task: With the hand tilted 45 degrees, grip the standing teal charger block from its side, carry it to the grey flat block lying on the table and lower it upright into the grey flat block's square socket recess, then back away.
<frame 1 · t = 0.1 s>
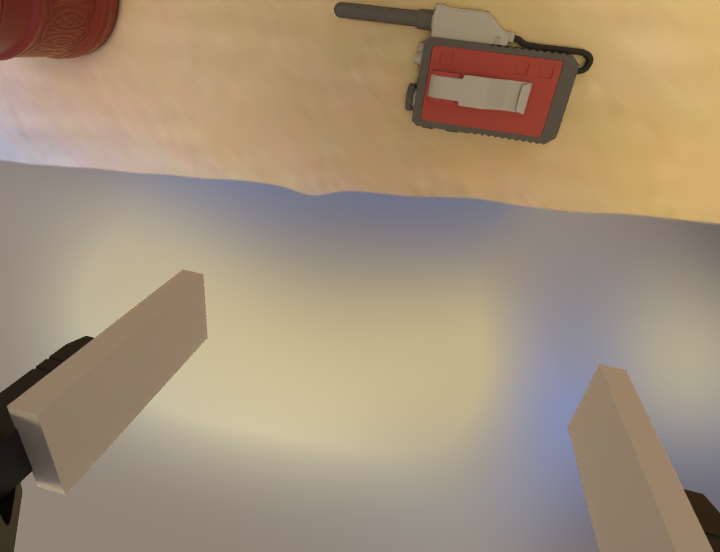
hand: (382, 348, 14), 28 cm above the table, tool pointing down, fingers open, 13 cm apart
walkie-talkie: (452, 70, 36), on the table
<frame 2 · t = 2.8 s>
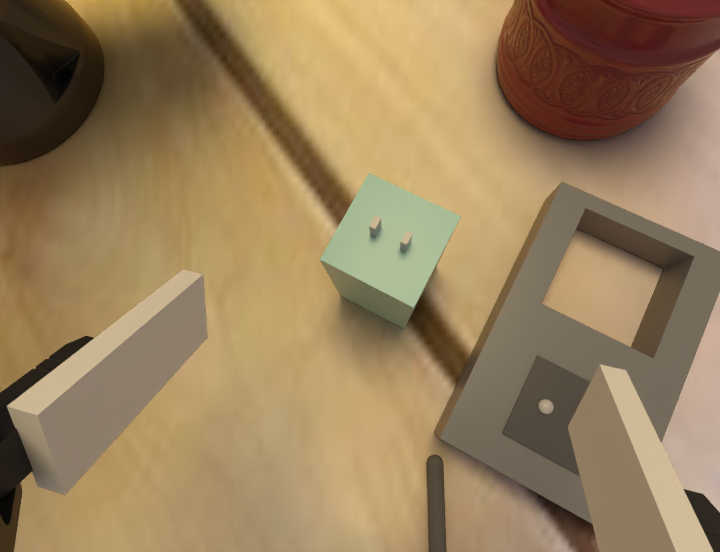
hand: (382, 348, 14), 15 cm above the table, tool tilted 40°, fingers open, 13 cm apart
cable: (436, 548, 27), on the table
grey flat block: (569, 348, 29), on the table
charger block: (388, 280, 30), on the table
canister: (576, 70, 33), on the table
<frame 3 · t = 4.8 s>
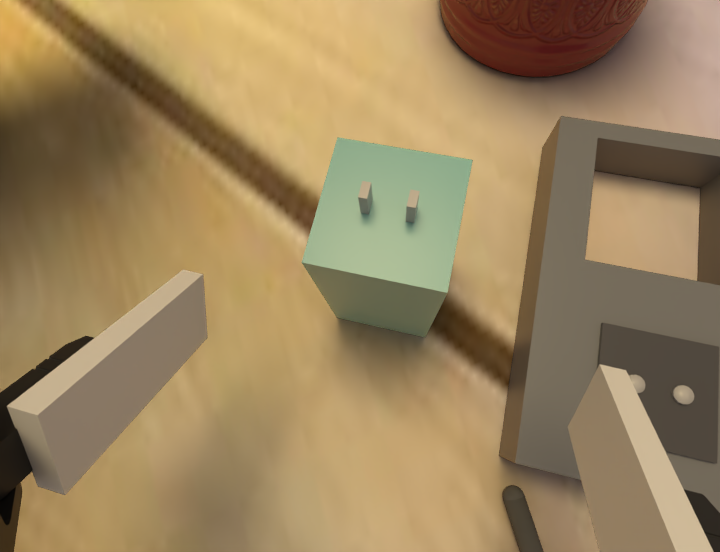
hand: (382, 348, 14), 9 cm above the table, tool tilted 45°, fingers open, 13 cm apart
grey flat block: (626, 307, 23), on the table
charger block: (390, 285, 25), on the table
canister: (530, 6, 30), on the table
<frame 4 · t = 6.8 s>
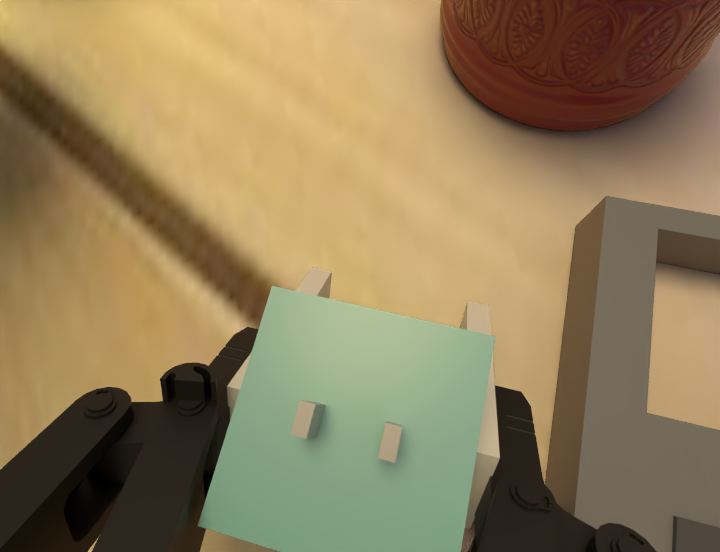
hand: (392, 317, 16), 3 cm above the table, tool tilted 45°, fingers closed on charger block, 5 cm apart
grey flat block: (696, 460, 17), on the table
charger block: (372, 416, 18), on the table, touching gripper
canister: (557, 37, 24), on the table
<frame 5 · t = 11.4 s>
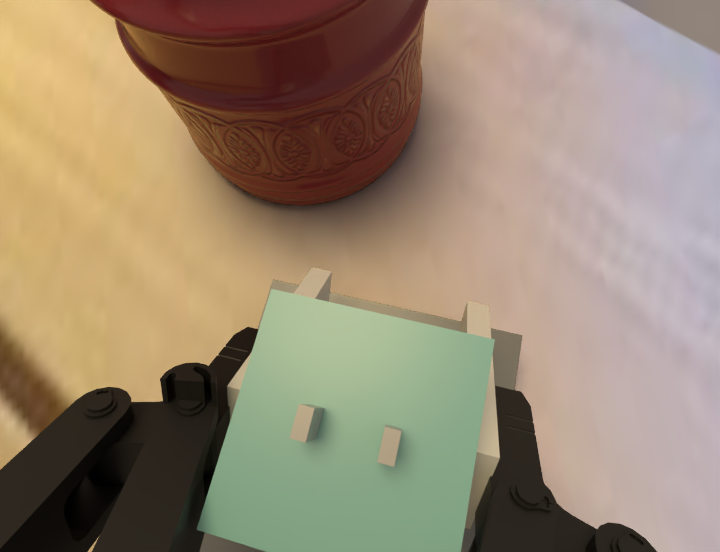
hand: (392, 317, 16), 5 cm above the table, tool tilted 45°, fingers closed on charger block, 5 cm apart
grey flat block: (348, 514, 19), on the table
charger block: (372, 418, 18), point 2 cm above the table, touching gripper
canister: (309, 113, 26), on the table
when the fingers open (4 cm above the table, at t = 12.1 s): charger block stays where it is, resting in grey flat block.
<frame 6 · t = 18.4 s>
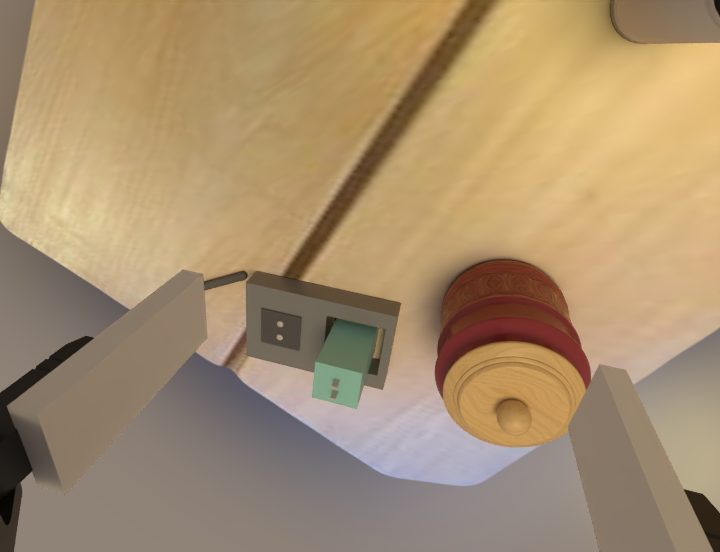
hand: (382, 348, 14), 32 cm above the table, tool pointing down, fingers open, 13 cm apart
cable: (212, 282, 55), on the table
grey flat block: (323, 323, 55), on the table
charger block: (357, 331, 54), resting in grey flat block
canister: (501, 308, 48), on the table
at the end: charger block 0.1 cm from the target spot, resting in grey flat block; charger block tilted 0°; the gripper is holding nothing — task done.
